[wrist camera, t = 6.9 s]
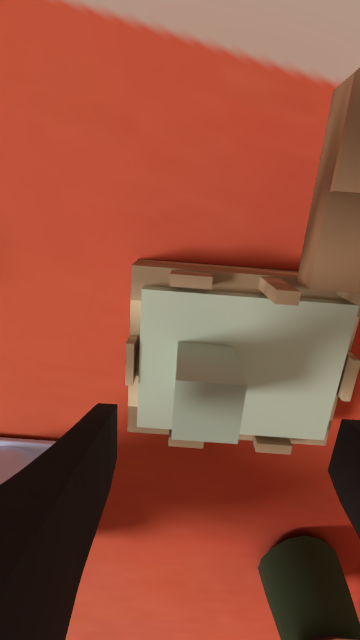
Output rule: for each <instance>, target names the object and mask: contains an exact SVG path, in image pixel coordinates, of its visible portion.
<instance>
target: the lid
mask: <svg viewBox="0 0 360 640" xmlns="http://www.w3.org/2000/svg"><path fill="white" fill-rule="evenodd" d="M358 310H359V306H358V305H356V304H354V303H352V302H350V301H340V300H327V299H314V298H300V301H299V306H294V305H281V304H274V303H273V302H272V301H271V300H270V299H269V298H268V297H267V296H266V295H261V294H247V293H234V292H221V291H207V290H194V289H181V288H167V287H154V286H143V288H142V295H141V323H140V351H139V379H138V407H137V427H142V428H157V429H171V430H172V434H171V439H172V440H186V441H201V442H215V443H229V444H238V439H239V434H242V435H256V436H270V437H284V438H298V439H313V440H324V438H325V435H326V431H327V427H328V423H329V420H330V416H331V412H332V408H333V404H334V401H335V397H336V393H337V389H338V386H339V382H340V378H341V374H342V370H343V367H344V363H345V359H346V355H347V352H348V348H349V344H350V340H351V336H352V333H353V329H354V325H355V321H356V318H357V314H358Z"/></svg>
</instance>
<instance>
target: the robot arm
mask: <svg viewBox="0 0 360 640" xmlns="http://www.w3.org/2000/svg"><path fill="white" fill-rule="evenodd" d="M116 459H117V404H101V403H98V404H97V405H96V406H94V407H93V408H92V409H91V410H90V411H89V412H88V413H87V414H86V415H85V416H84V417H83V418H82V419H81V420H80V421H78V422H77V423H76V424H75V425H74V426H73V427H72V428H71V429H70V430H69V431H68V432H66V433H65V434H64V435H63V436H62V437H61V438H60V439H59V440H57V441H46V440H32V439H18V438H3V437H0V640H65V639H66V634H67V630H68V626H69V622H70V618H71V614H72V610H73V606H74V602H75V598H76V594H77V590H78V586H79V583H80V579H81V576H82V573H83V569H84V566H85V563H86V560H87V557H88V554H89V551H90V548H91V545H92V542H93V539H94V536H95V533H96V530H97V527H98V524H99V521H100V518H101V515H102V512H103V509H104V506H105V503H106V500H107V497H108V494H109V491H110V487H111V483H112V478H113V473H114V469H115V464H116ZM328 472H329V474H330V477H331V480H332V482H333V485H334V488H335V490H336V493H337V495H338V497H339V500H340V502H341V504H342V506H343V508H344V510H345V512H346V514H347V516H348V518H349V520H350V521H351V523H352V525H353V527H354V529H355V531H356V533H357V534H358V536H359V538H360V420H348V419H342V420H341V424H340V428H339V431H338V435H337V439H336V443H335V446H334V450H333V454H332V457H331V461H330V465H329V468H328Z"/></svg>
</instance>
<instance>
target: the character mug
mask: <svg viewBox="0 0 360 640" xmlns="http://www.w3.org/2000/svg"><path fill="white" fill-rule="evenodd" d="M258 570H259V573H260V576H261V580H262V583H263V587H264V590H265V594H266V597H267V600H268V603H269V606H270V609H271V612H272V615H273V617H274V620H275V623H276V626H277V629H278V632H279V635H280V638H281V640H360V623H359V620H358V617H357V614H356V610H355V607H354V604H353V601H352V598H351V594H350V591H349V588H348V585H347V582H346V580H345V577H344V574H343V571H342V568H341V566H340V563H339V560H338V557H337V554H336V552H335V550H334V549H333V548H332V547H331V546H330V545H328V544H327V543H326V542H325V541H324V540H322V539H318V538H314V537H310V536H300V537H295V538H290V539H286V540H285V541H283V542H281V543H279V544H278V545H276V546H274V547H272V548H271V549H270V550H269V551H268V553H267V554H266V555H265V556H264V557H263V558H262V559H261V562H260V564H259V567H258Z"/></svg>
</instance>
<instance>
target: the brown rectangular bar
mask: <svg viewBox="0 0 360 640" xmlns="http://www.w3.org/2000/svg"><path fill="white" fill-rule="evenodd" d="M296 282H297V283H299V284H300V285H302V286H304V287H306V288H307V289H309V290H320V291H333V292H346V293H360V68H359V69H358V70H357V71H356V72H354V73H353V74H352V75H351V76H350V77H349V78H348V79H346V80H345V81H344V82H343V83H342V84H340V85H339V86H338V87H337V88H336V89H335V90H333V95H332V101H331V106H330V111H329V116H328V121H327V126H326V132H325V137H324V142H323V147H322V152H321V157H320V163H319V168H318V173H317V178H316V183H315V188H314V194H313V199H312V204H311V209H310V214H309V219H308V225H307V230H306V235H305V240H304V245H303V250H302V256H301V261H300V266H299V271H298V276H297V281H296Z"/></svg>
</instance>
